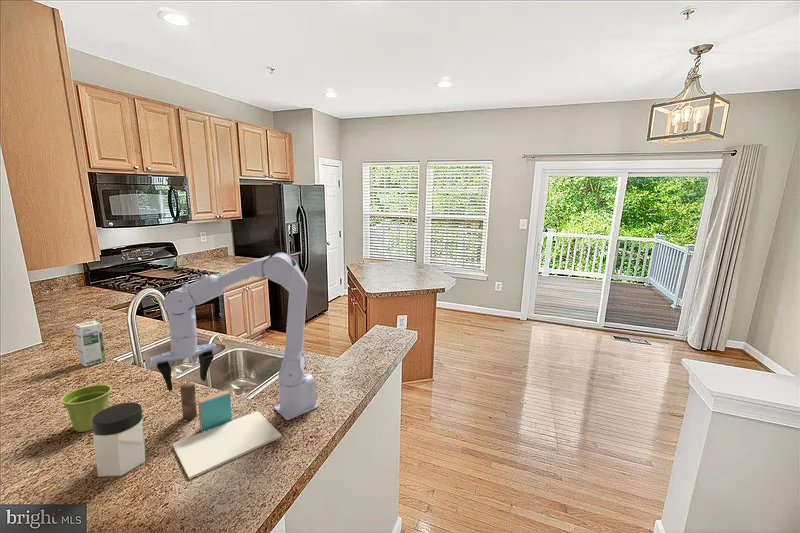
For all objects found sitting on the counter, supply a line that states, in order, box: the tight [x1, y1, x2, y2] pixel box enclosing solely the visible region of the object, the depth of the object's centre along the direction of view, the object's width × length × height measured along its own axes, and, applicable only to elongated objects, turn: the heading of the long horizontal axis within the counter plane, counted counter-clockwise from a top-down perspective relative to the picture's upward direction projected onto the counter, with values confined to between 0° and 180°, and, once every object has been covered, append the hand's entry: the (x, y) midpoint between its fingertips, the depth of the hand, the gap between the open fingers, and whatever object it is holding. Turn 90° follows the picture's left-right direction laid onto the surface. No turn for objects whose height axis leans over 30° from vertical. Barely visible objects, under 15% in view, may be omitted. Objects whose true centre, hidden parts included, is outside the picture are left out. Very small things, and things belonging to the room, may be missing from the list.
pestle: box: [180, 382, 198, 421], centre depth 90 cm, size 3×3×9 cm
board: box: [172, 410, 282, 480], centre depth 82 cm, size 20×14×1 cm
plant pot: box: [60, 384, 113, 433], centre depth 86 cm, size 9×9×9 cm
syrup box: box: [74, 320, 107, 367], centre depth 120 cm, size 6×6×14 cm
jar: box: [92, 402, 147, 478], centre depth 73 cm, size 9×8×12 cm
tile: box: [197, 390, 233, 432], centre depth 88 cm, size 7×2×8 cm, turn 135°
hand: (186, 384), depth 89 cm, fingers open, 7 cm apart
